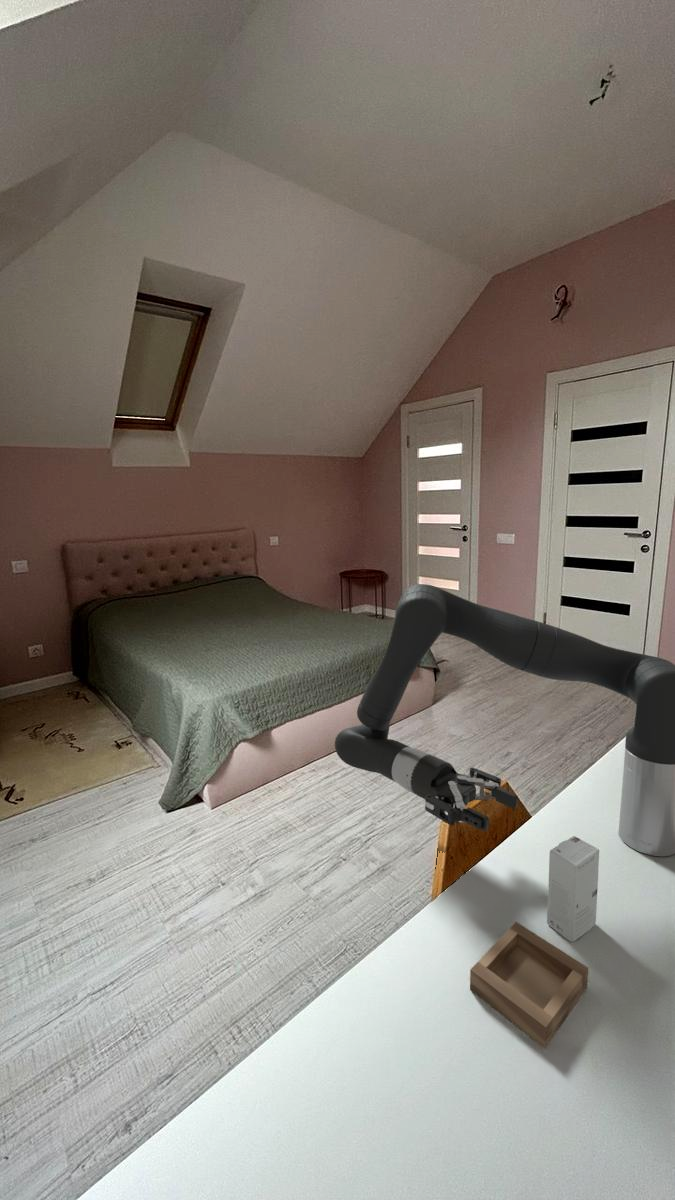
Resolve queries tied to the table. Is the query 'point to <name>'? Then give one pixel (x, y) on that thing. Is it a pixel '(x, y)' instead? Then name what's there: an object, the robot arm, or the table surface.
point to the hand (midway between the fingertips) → (502, 813)
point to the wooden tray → (529, 982)
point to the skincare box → (573, 888)
